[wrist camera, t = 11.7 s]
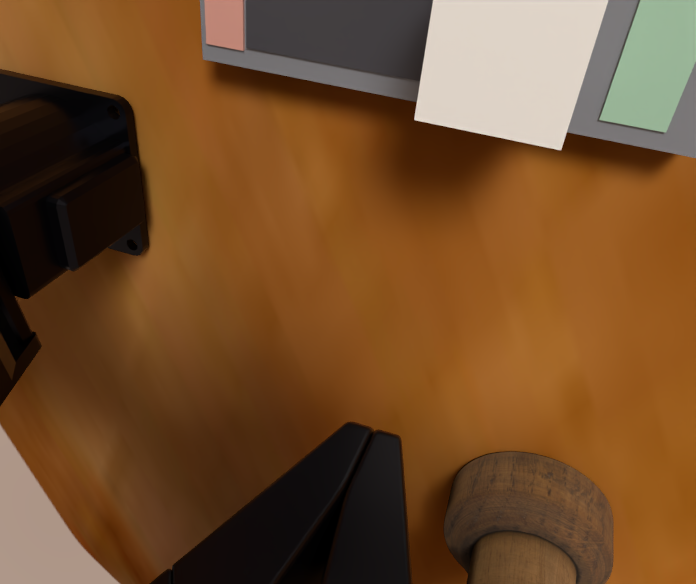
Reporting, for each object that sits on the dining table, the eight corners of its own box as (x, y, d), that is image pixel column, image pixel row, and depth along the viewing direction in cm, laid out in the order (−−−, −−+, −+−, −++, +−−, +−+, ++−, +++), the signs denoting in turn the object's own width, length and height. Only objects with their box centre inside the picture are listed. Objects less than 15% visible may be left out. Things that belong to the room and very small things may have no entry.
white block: (451, 73, 16) (413, 120, 12) (475, -59, 14) (440, -45, 11) (568, 95, 15) (560, 150, 12) (610, -41, 13) (614, -20, 10)
